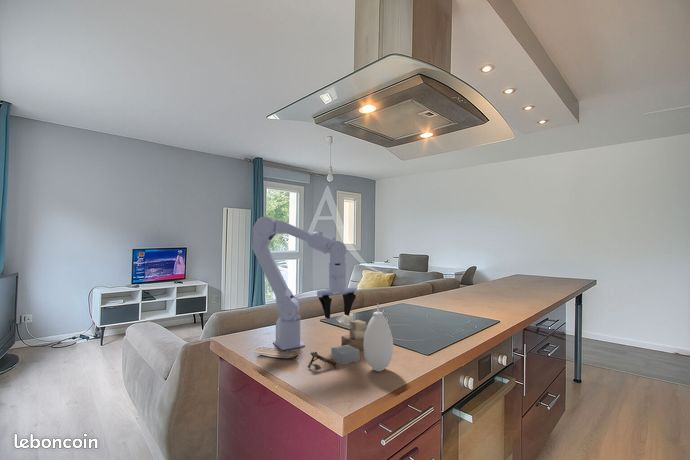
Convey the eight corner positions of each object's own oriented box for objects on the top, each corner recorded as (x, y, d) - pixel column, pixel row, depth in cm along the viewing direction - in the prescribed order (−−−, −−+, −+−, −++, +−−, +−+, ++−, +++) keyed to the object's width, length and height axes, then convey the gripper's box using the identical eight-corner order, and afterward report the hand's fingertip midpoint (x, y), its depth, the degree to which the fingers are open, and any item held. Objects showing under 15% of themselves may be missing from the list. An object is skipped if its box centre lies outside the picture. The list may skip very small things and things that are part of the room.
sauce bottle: (378, 362, 90) (377, 299, 91) (399, 370, 84) (398, 303, 85) (358, 369, 85) (357, 302, 86) (378, 378, 79) (378, 306, 80)
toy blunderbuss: (304, 364, 86) (311, 349, 87) (331, 375, 87) (337, 359, 88) (304, 367, 85) (311, 351, 85) (331, 377, 85) (338, 362, 86)
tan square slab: (341, 345, 106) (341, 336, 106) (360, 341, 110) (360, 332, 110) (354, 351, 99) (354, 342, 99) (374, 347, 103) (374, 338, 103)
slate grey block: (331, 358, 93) (331, 348, 93) (348, 354, 96) (348, 344, 97) (341, 364, 88) (341, 354, 88) (359, 360, 91) (359, 350, 91)
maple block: (349, 336, 105) (349, 321, 105) (359, 334, 107) (359, 319, 107) (356, 339, 102) (356, 324, 102) (366, 337, 104) (366, 322, 104)
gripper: (324, 278, 100) (324, 321, 99) (361, 276, 107) (361, 316, 107) (314, 276, 106) (314, 317, 105) (350, 274, 113) (350, 312, 113)
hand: (337, 316), depth 106 cm, fingers open, 7 cm apart
